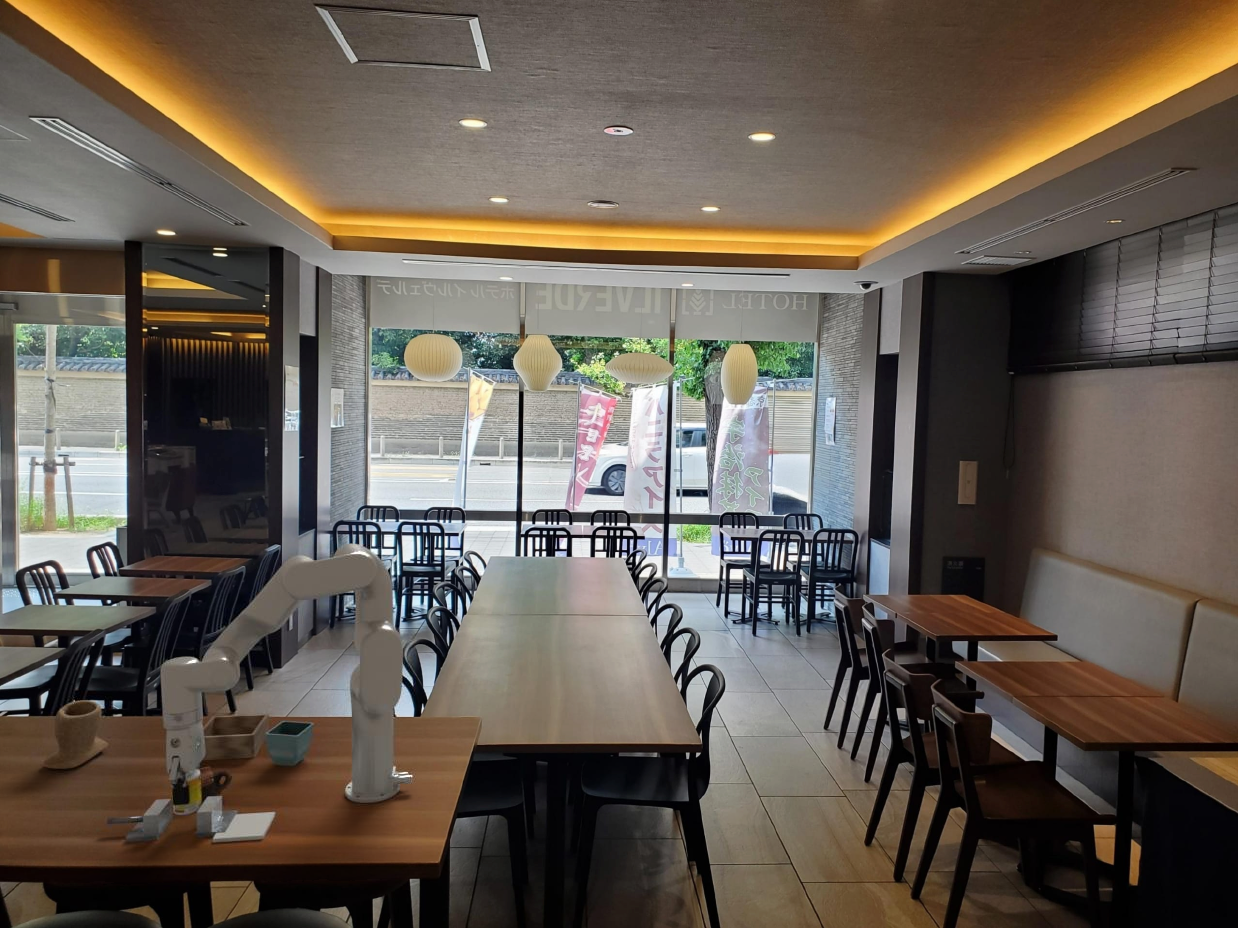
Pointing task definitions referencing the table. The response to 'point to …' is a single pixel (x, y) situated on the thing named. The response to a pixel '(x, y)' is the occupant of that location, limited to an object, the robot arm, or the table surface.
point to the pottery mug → (213, 787)
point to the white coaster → (246, 827)
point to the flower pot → (289, 742)
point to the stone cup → (76, 735)
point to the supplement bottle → (195, 794)
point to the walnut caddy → (235, 736)
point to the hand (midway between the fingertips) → (186, 795)
